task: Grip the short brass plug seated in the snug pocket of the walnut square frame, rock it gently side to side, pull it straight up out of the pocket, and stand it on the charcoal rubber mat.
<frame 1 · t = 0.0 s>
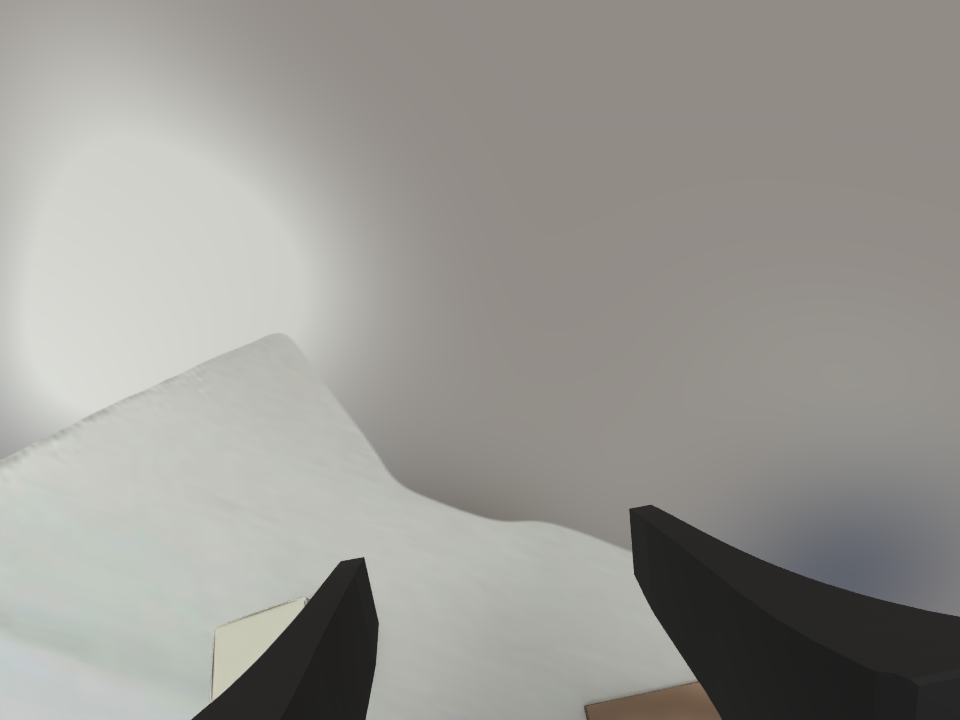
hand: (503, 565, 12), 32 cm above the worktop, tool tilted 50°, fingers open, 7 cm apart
skincare box: (324, 659, 38), on the worktop
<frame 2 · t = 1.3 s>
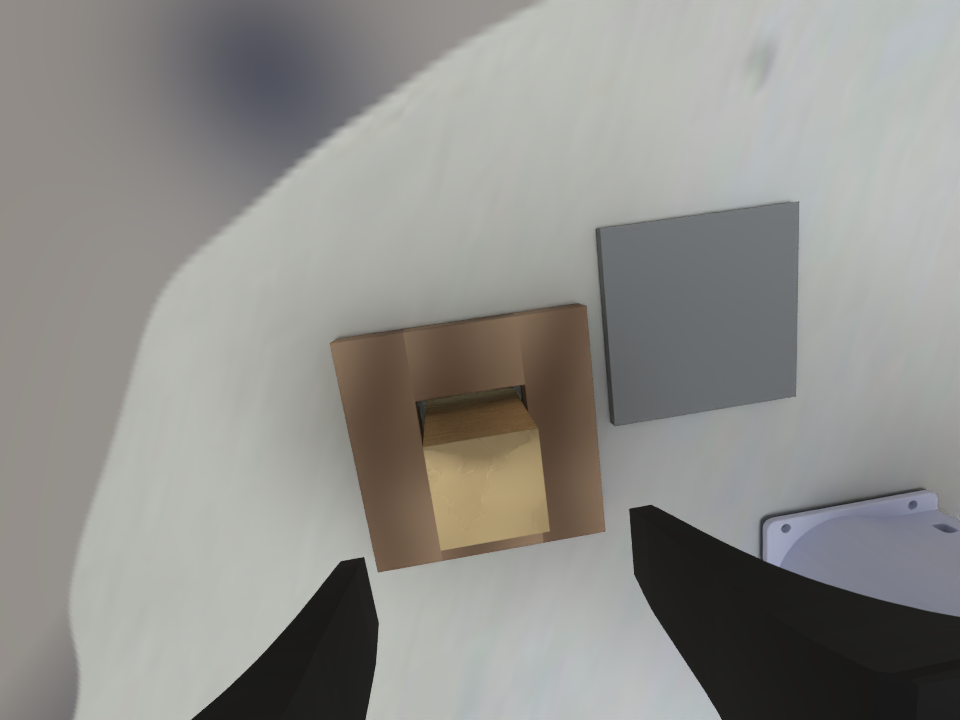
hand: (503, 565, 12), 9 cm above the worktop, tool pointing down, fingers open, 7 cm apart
walnut square frame: (475, 434, 21), on the worktop
brass plug: (475, 434, 21), resting in walnut square frame
charcoal mat: (697, 316, 21), on the worktop
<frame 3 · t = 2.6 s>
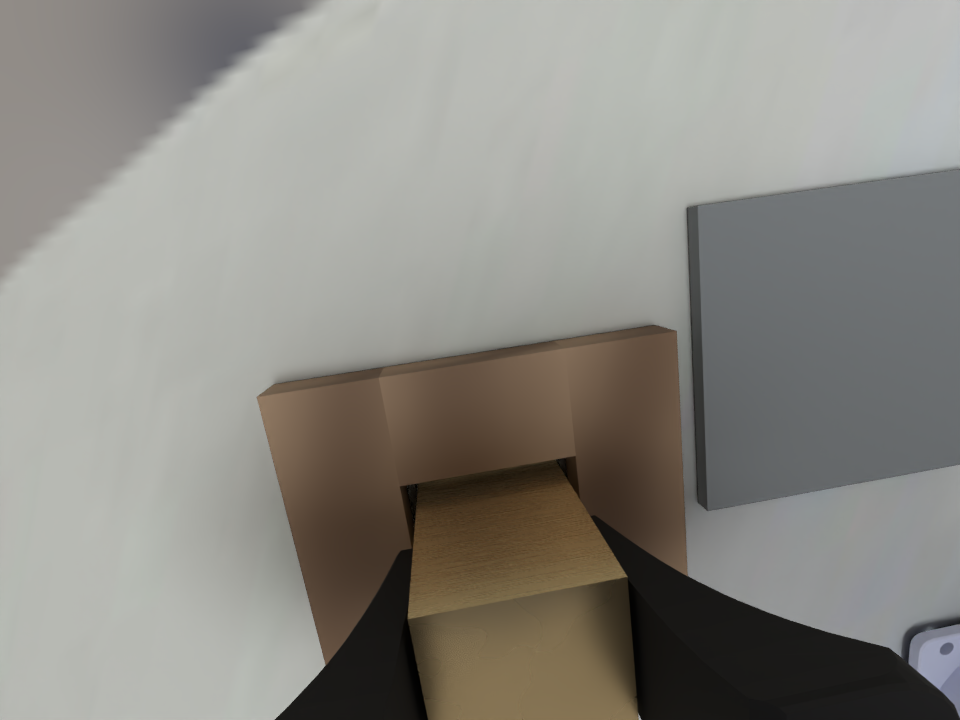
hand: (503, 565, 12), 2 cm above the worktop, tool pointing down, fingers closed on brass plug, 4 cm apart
walnut square frame: (494, 525, 14), on the worktop
brass plug: (494, 524, 14), resting in walnut square frame, touching gripper
charcoal mat: (835, 342, 14), on the worktop
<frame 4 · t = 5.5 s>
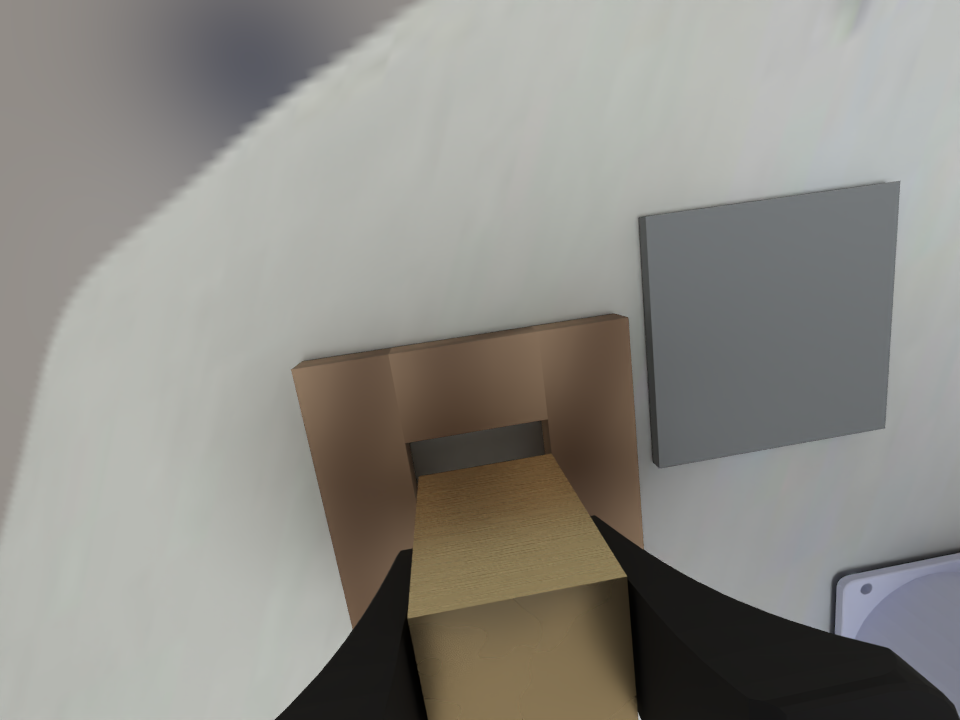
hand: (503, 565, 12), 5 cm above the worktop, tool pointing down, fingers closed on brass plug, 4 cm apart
walnut square frame: (483, 480, 17), on the worktop
brass plug: (494, 524, 14), point 3 cm above the worktop, touching gripper
charcoal mat: (764, 328, 17), on the worktop
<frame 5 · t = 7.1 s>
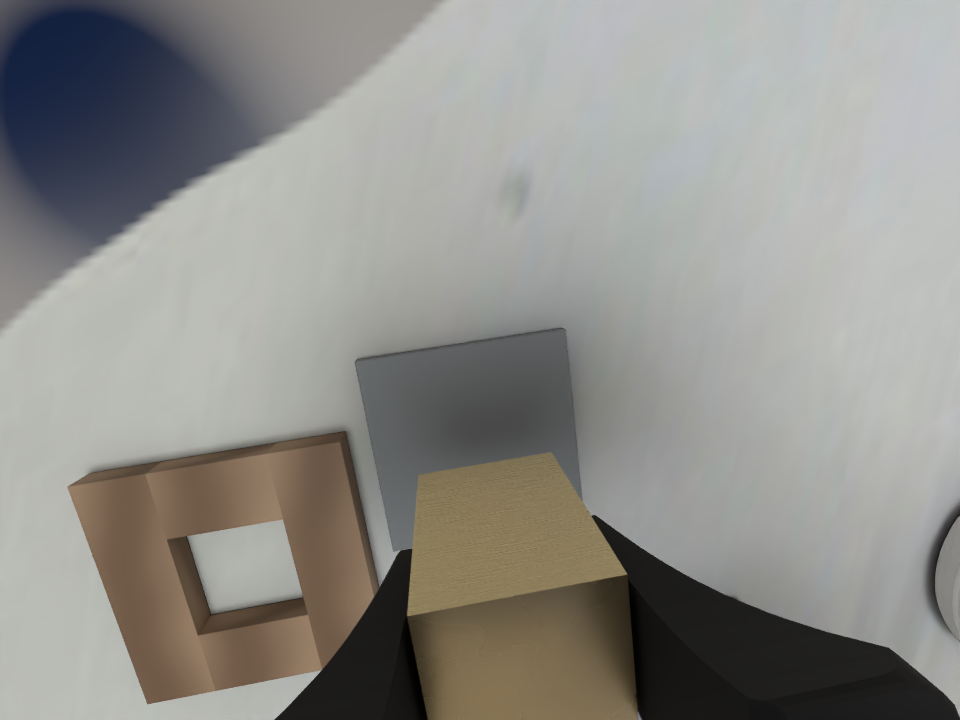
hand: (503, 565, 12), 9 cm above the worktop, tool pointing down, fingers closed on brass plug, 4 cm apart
walnut square frame: (250, 560, 21), on the worktop
brass plug: (494, 523, 14), point 7 cm above the worktop, touching gripper
charcoal mat: (475, 439, 21), on the worktop
when the fingers open (4 cm above the worktop, at t = 8.4 s): brass plug drops 1 cm, resting on charcoal mat.
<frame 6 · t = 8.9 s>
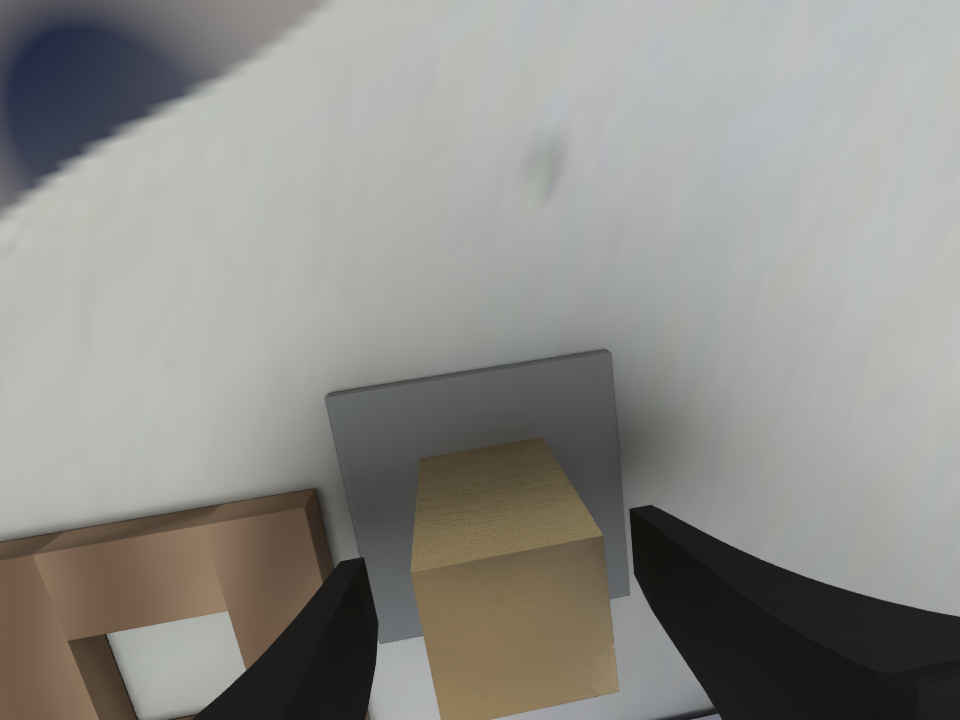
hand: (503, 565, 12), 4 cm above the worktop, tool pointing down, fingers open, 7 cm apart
walnut square frame: (190, 657, 16), on the worktop
brass plug: (490, 503, 15), resting on charcoal mat
charcoal mat: (488, 497, 16), on the worktop
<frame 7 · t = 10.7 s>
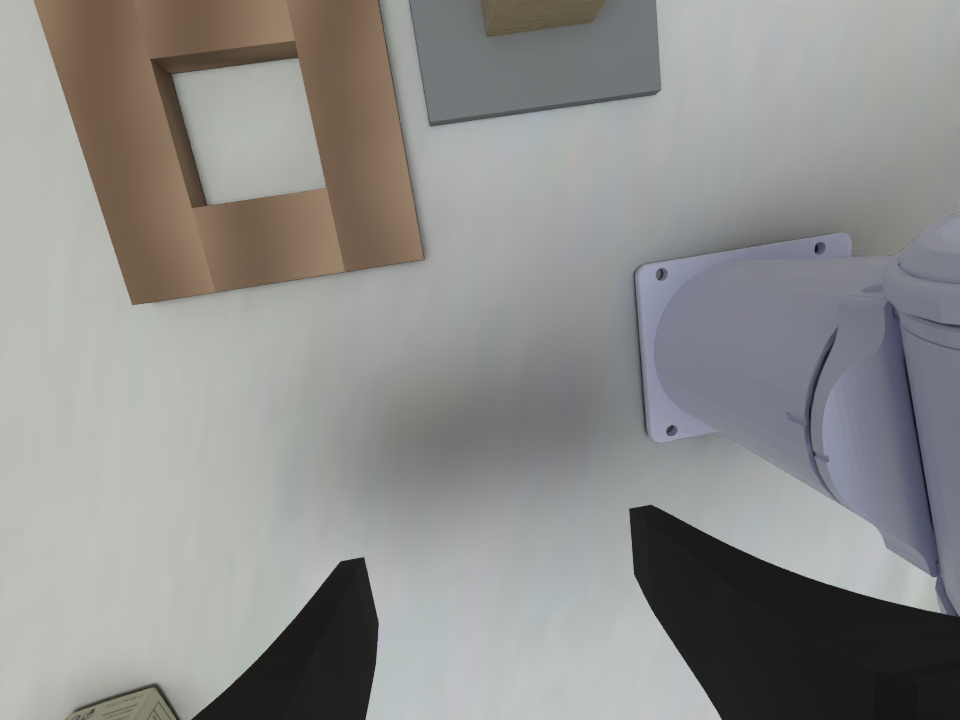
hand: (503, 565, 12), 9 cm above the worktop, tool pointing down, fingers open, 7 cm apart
walnut square frame: (255, 135, 17), on the worktop
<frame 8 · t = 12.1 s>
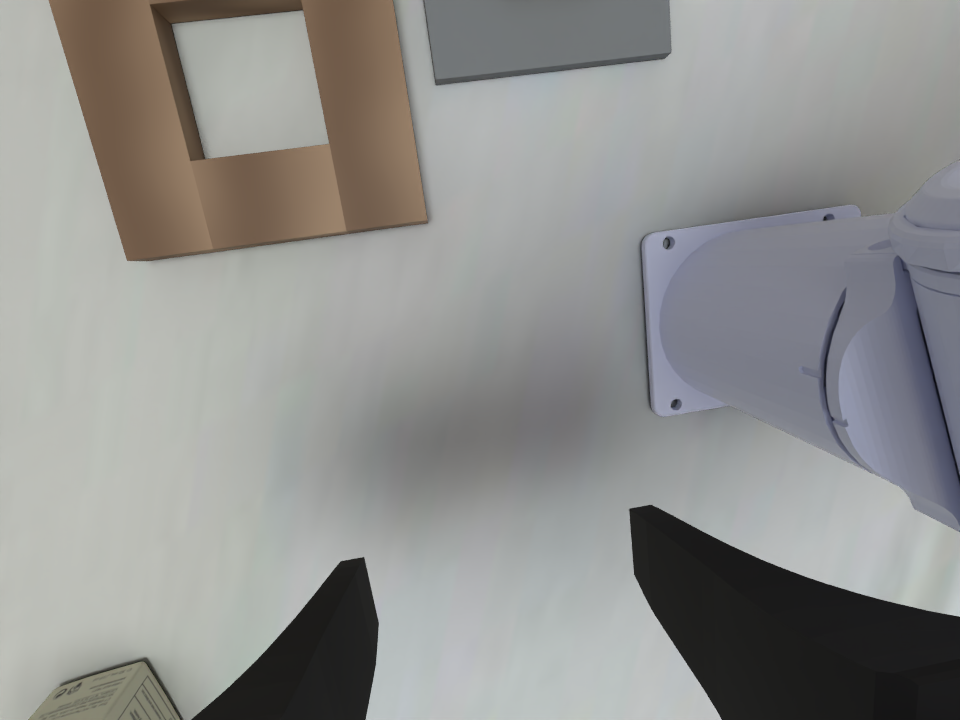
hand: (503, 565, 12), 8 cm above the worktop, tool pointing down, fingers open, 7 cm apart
walnut square frame: (256, 90, 17), on the worktop
skincare box: (135, 718, 22), on the worktop
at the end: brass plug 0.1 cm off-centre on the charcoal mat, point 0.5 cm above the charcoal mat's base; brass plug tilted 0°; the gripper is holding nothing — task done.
